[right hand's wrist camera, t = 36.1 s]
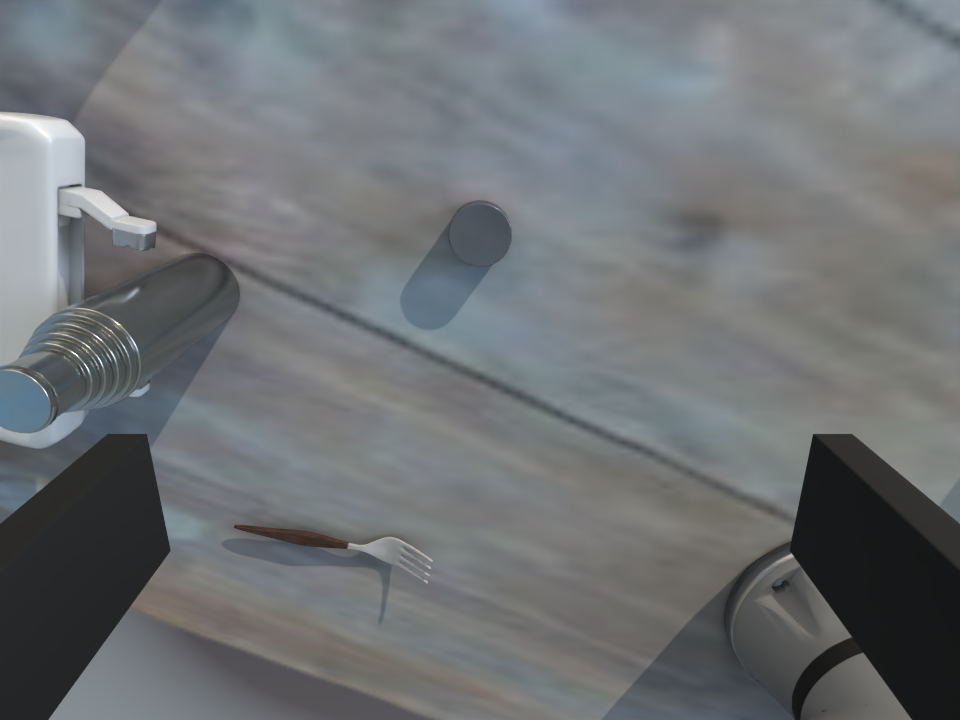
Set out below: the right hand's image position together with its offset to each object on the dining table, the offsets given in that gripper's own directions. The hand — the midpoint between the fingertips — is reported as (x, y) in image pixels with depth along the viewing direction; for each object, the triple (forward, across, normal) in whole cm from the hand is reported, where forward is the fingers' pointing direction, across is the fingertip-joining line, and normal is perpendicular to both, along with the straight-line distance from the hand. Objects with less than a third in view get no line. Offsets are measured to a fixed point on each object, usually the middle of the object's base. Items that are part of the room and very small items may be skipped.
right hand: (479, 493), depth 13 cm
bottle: (+32, +19, +4) cm, 38 cm away
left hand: (+26, +20, +4) cm, 33 cm away
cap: (+31, 0, 0) cm, 31 cm away
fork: (+32, +12, +25) cm, 42 cm away
